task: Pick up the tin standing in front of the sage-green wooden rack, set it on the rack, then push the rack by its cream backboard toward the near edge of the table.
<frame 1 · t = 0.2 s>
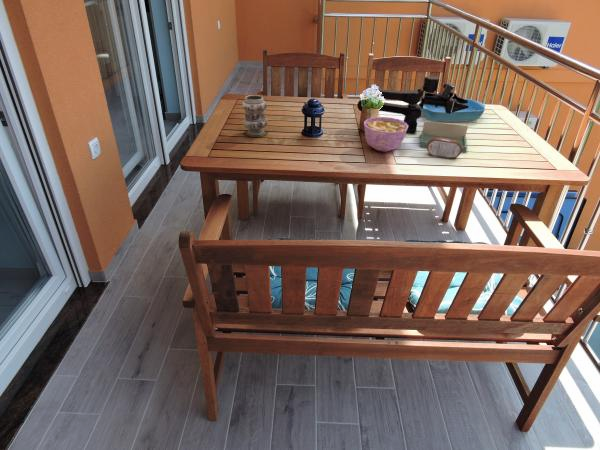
hand: (468, 104, 199), 17 cm above the table, tool horizontal, fingers open, 9 cm apart
casserole dish: (449, 117, 234), on the table
bowl of food: (382, 148, 196), on the table
rack: (442, 143, 202), on the table
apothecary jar: (255, 133, 208), on the table
tin: (442, 157, 189), on the table
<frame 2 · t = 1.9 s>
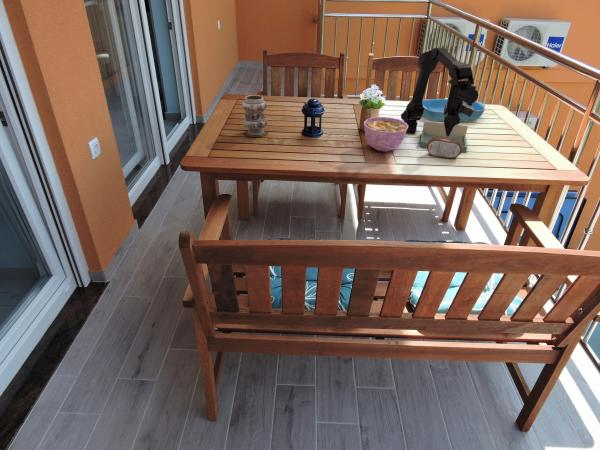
hand: (447, 132, 182), 11 cm above the table, tool pointing down, fingers open, 9 cm apart
nothing on the table moved.
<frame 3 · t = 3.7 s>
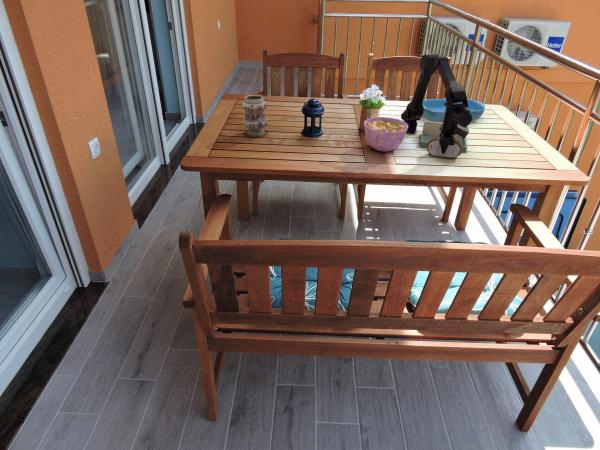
hand: (443, 152, 188), 2 cm above the table, tool pointing down, fingers closed on tin, 2 cm apart
tin: (442, 157, 189), on the table, touching gripper
everything else where it was.
when the fingers open (3 cm above the table, at t = 8.7 s): tin stays where it is, resting on rack.
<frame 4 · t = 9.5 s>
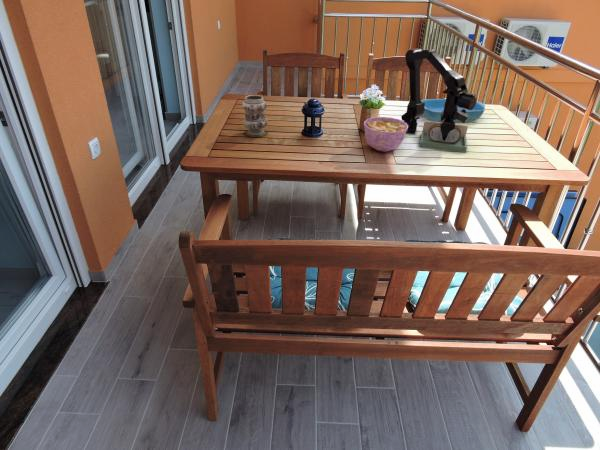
hand: (444, 136, 200), 3 cm above the table, tool pointing down, fingers open, 9 cm apart
rack: (442, 143, 202), on the table, touching tin
tin: (442, 142, 201), point 1 cm above the table, touching rack
everything else where it was.
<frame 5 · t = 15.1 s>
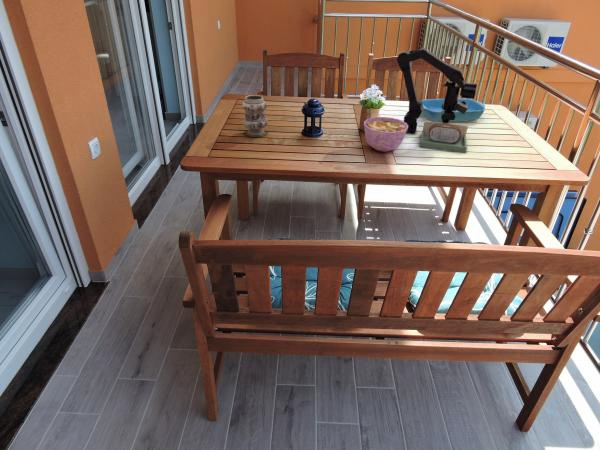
hand: (444, 127, 207), 5 cm above the table, tool pointing down, fingers closed
rack: (442, 143, 201), on the table, touching gripper, tin
everything else where it was.
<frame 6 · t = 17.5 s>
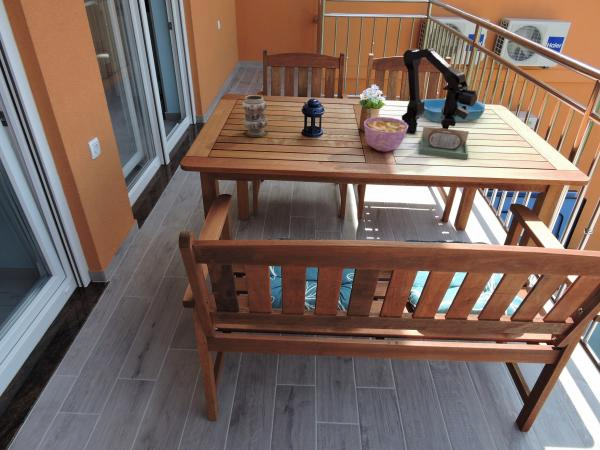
hand: (444, 133, 200), 5 cm above the table, tool pointing down, fingers closed
rack: (442, 149, 195), on the table, touching gripper, tin
tin: (442, 148, 195), point 1 cm above the table, touching rack
everything else where it was.
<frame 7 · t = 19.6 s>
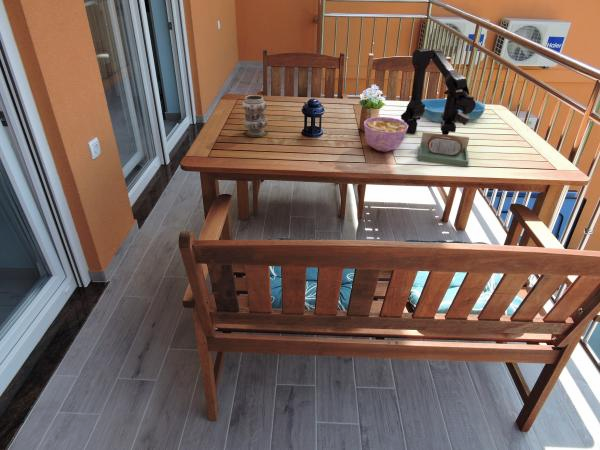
hand: (444, 139, 194), 5 cm above the table, tool pointing down, fingers closed
rack: (442, 156, 189), on the table, touching gripper, tin
tin: (442, 154, 189), point 1 cm above the table, touching rack
everything else where it was.
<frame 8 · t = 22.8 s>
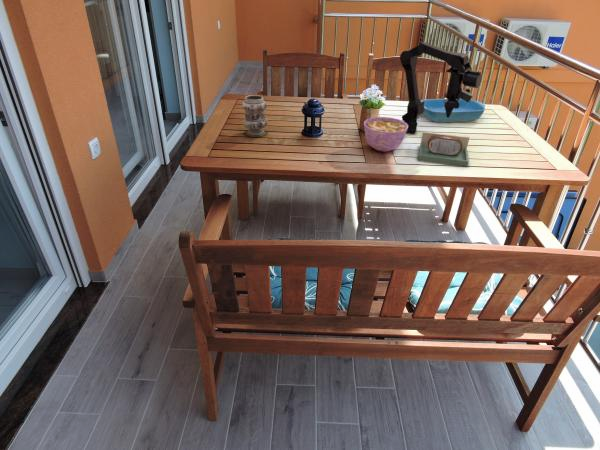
hand: (447, 117, 197), 12 cm above the table, tool pointing down, fingers closed
rack: (442, 156, 189), on the table, touching tin
everything else where it was.
at the end: rack inside the target area (0.6 cm from its centre), on the table; tin inside the target area on the rack (0.7 cm from its centre), point 0.6 cm above the rack's base; tin tilted 0° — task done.
